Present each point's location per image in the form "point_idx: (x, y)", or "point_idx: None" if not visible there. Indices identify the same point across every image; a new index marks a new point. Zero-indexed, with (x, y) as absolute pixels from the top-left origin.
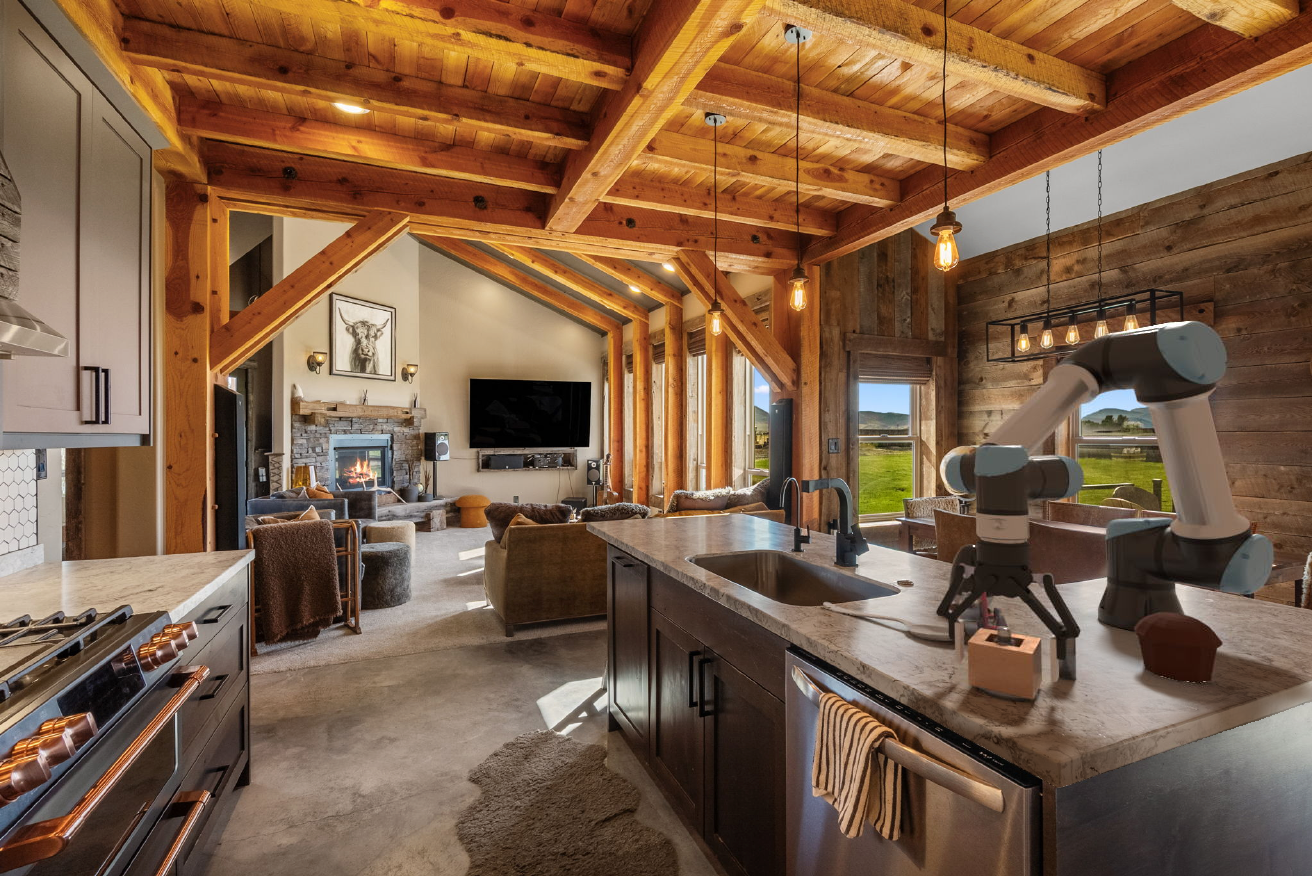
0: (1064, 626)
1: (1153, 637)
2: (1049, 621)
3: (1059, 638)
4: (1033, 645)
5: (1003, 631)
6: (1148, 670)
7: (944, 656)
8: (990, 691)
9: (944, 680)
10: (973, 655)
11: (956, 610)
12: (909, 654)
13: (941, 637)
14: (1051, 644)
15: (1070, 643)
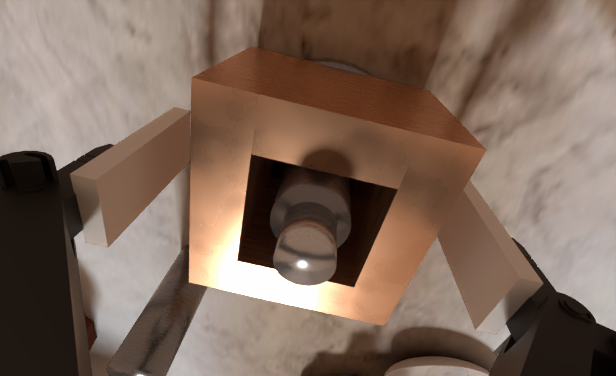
0: (129, 361)
1: None
2: (15, 247)
3: (29, 156)
4: (201, 200)
5: (309, 234)
6: (86, 317)
7: (440, 290)
8: (367, 73)
9: (481, 141)
10: (441, 120)
11: (575, 352)
12: None
13: (435, 359)
14: (108, 164)
15: (144, 314)
